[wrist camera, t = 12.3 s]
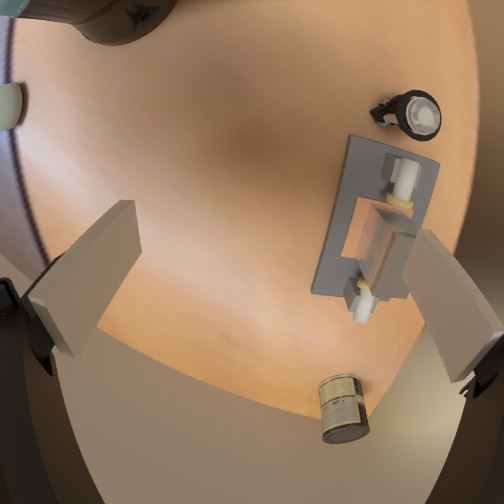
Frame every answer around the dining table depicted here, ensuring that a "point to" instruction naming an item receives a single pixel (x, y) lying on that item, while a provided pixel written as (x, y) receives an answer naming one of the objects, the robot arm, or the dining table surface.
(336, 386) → the coffee can
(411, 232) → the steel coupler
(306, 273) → the dining table surface
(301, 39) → the dining table surface
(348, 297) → the coupling stand
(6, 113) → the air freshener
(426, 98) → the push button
